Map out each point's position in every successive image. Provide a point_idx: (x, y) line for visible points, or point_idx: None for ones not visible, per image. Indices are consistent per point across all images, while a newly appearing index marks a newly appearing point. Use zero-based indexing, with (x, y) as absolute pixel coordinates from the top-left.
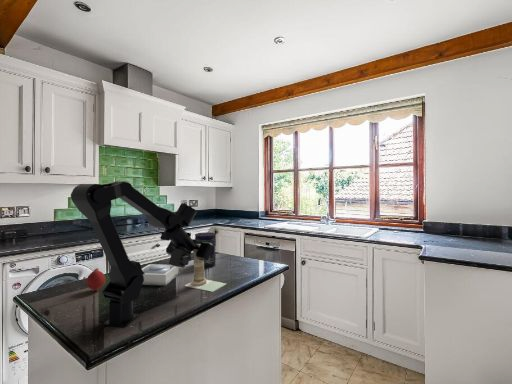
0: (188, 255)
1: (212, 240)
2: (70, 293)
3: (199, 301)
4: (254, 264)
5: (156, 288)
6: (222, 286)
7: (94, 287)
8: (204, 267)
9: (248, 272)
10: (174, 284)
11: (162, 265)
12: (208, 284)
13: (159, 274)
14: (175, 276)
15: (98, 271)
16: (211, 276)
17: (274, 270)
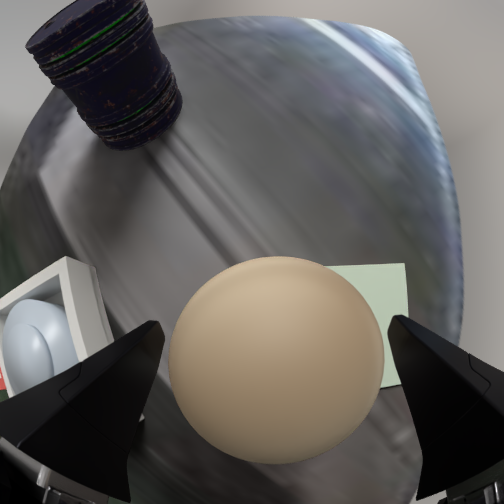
0: (138, 366)
1: (134, 10)
2: None
3: (403, 468)
4: (316, 39)
5: (142, 454)
6: (406, 302)
7: None
8: (153, 136)
9: (367, 101)
10: (168, 395)
11: (29, 337)
12: None
13: None
14: (102, 305)
15: None
16: (260, 206)
17: (413, 69)
